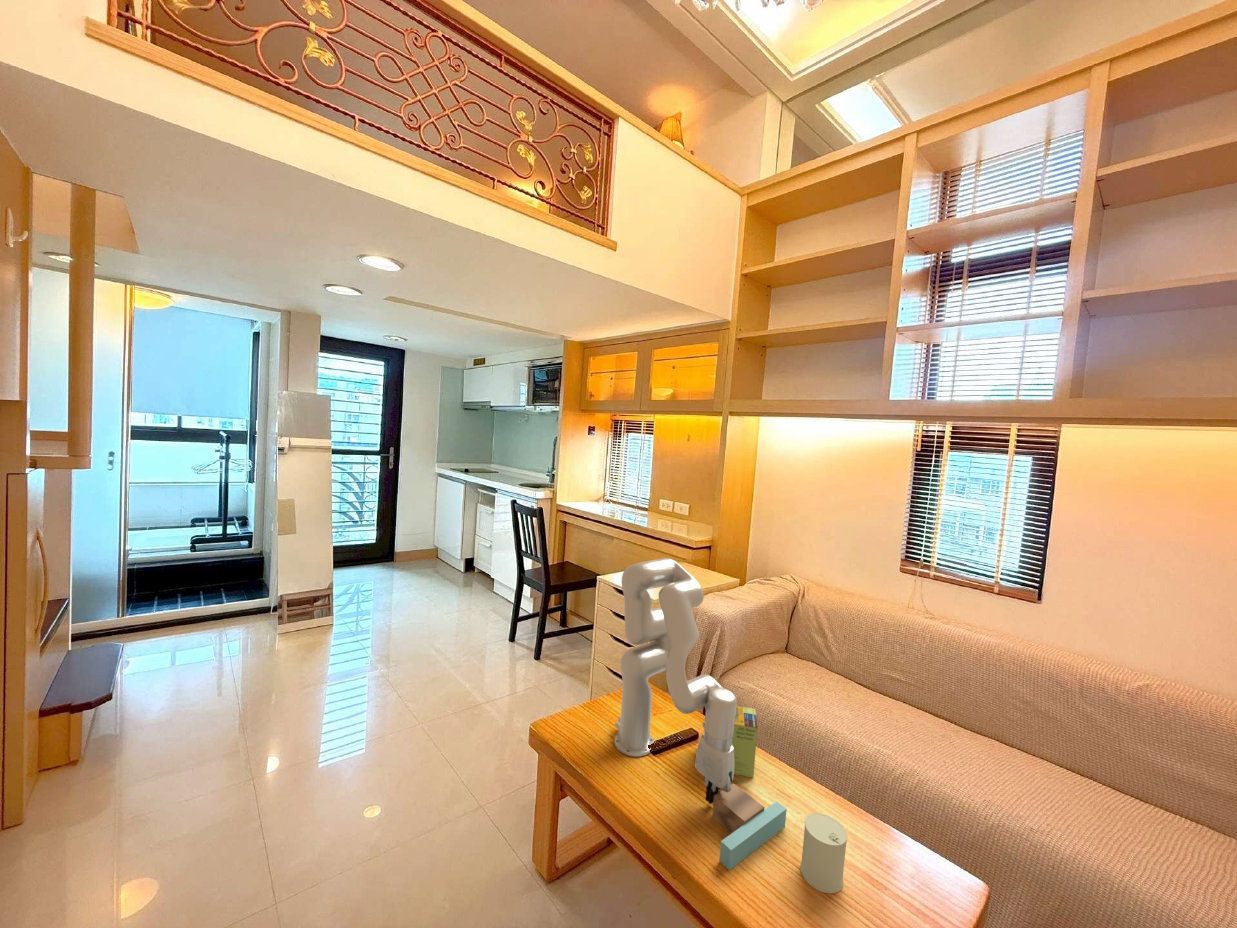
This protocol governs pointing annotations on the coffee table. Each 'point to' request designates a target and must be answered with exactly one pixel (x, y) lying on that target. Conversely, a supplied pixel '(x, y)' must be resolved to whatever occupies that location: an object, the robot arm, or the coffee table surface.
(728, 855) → the teal board
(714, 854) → the coffee table surface
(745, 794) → the brown block
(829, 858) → the can
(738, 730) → the protein box
